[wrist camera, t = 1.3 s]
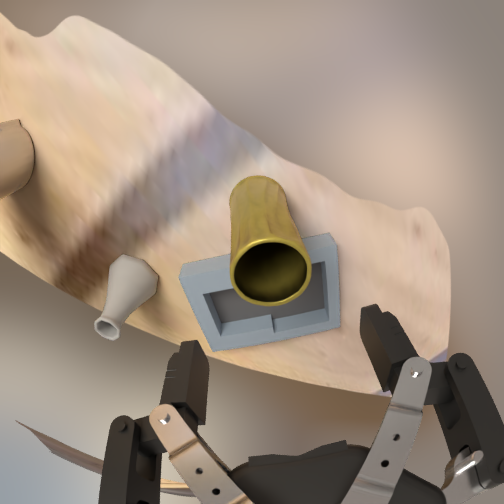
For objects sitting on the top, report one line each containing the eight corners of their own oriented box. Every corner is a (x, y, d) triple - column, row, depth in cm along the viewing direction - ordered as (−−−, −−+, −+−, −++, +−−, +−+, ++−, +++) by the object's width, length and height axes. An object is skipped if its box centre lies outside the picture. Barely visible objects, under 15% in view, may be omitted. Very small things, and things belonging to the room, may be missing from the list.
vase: (285, 226, 31) (314, 308, 19) (231, 229, 31) (226, 314, 18) (285, 174, 28) (323, 228, 16) (227, 176, 28) (217, 233, 16)
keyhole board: (182, 264, 33) (178, 277, 30) (329, 232, 32) (336, 244, 29) (214, 336, 39) (212, 351, 36) (334, 312, 38) (340, 326, 35)
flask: (168, 273, 34) (147, 328, 25) (146, 307, 36) (126, 361, 27) (120, 243, 31) (85, 291, 23) (103, 281, 34) (73, 330, 25)
